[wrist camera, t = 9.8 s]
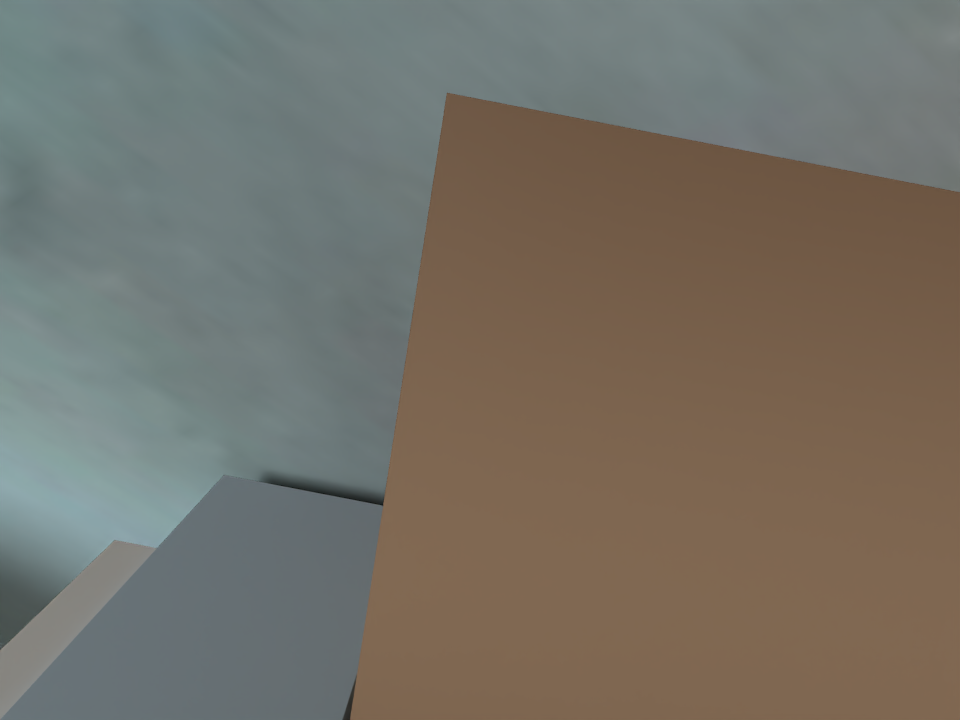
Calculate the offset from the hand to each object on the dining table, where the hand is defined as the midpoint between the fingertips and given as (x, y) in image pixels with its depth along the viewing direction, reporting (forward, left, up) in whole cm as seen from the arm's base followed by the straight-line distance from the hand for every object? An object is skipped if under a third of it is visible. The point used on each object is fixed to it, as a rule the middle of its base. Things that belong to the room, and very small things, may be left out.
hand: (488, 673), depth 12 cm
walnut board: (0, 0, -3) cm, 3 cm away
